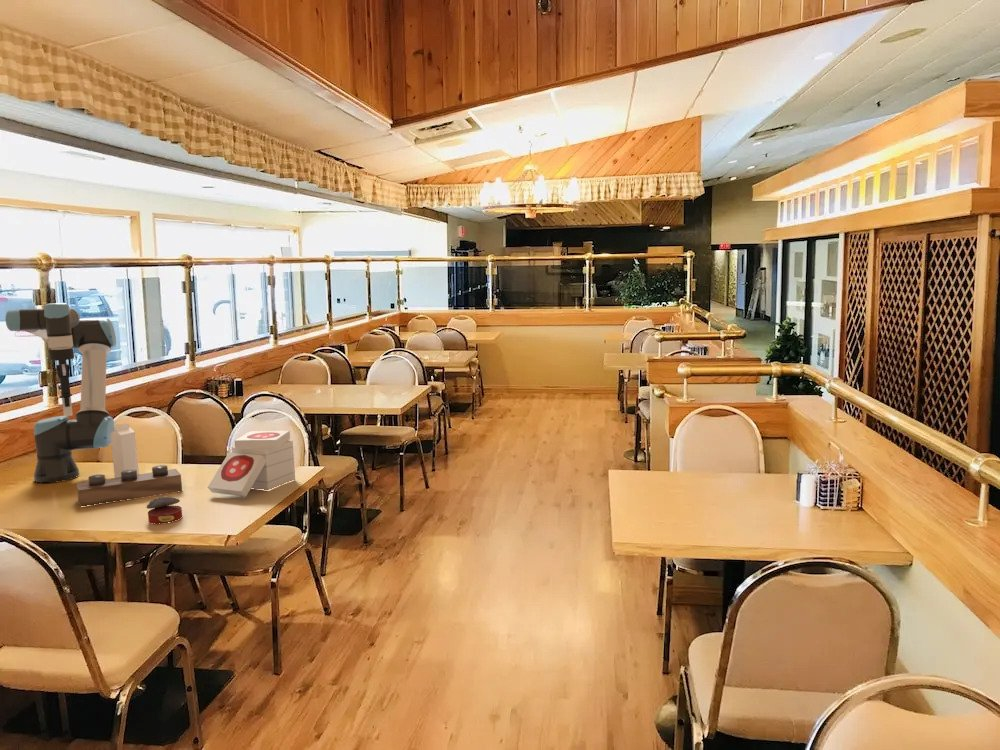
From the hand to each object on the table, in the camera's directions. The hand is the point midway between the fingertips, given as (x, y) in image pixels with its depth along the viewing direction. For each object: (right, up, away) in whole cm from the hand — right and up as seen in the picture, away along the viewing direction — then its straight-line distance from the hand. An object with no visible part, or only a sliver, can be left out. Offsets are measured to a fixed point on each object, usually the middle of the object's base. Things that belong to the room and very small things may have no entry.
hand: (68, 415), depth 275 cm
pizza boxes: (+64, -26, +5) cm, 69 cm away
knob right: (+30, -25, +5) cm, 40 cm away
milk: (+12, -26, +18) cm, 34 cm away
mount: (+22, -28, 0) cm, 35 cm away
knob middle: (+22, -26, 0) cm, 34 cm away
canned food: (+45, -32, -26) cm, 61 cm away
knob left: (+13, -27, -5) cm, 31 cm away
